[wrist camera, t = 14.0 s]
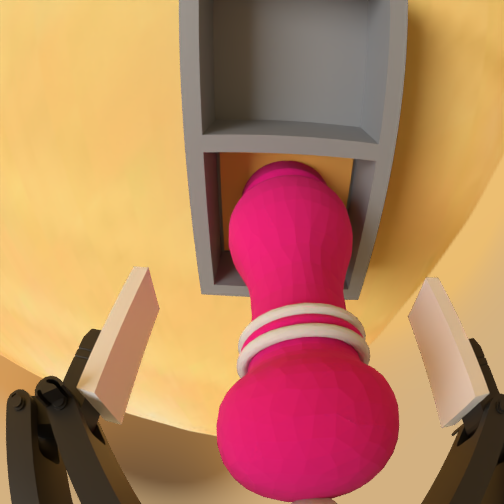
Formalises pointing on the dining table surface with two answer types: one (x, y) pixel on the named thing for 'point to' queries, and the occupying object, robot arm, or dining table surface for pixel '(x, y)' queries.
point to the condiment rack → (289, 111)
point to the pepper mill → (301, 349)
